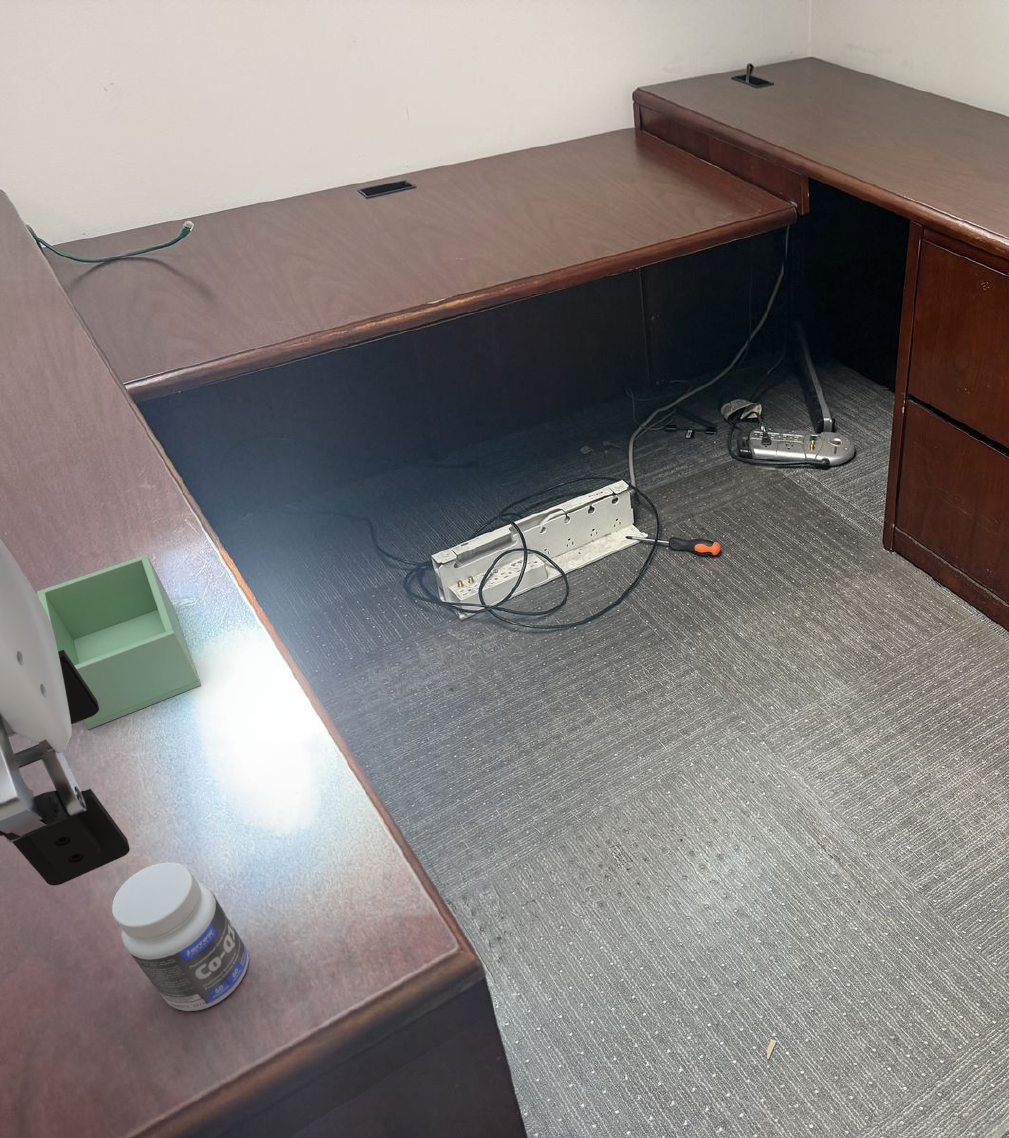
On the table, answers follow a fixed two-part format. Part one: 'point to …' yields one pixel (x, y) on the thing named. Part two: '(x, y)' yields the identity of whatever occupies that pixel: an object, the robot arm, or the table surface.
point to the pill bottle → (180, 936)
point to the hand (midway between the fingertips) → (78, 789)
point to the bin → (121, 637)
